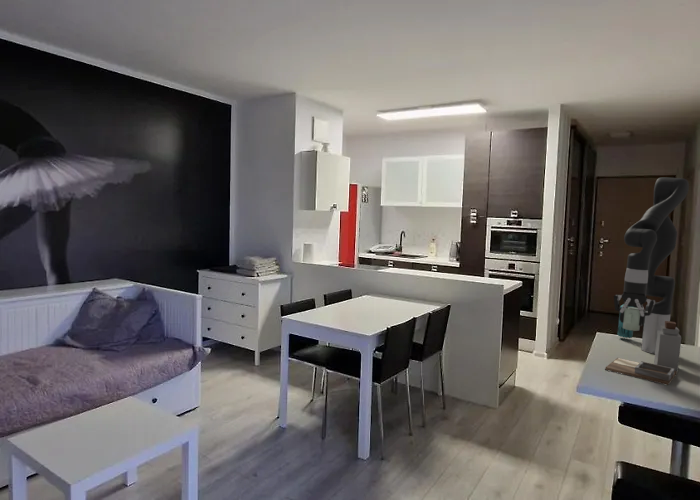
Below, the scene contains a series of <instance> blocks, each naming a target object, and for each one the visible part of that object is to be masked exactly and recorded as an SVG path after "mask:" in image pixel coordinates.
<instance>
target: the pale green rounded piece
mask: <svg viewBox="0 0 700 500" xmlns="http://www.w3.org/2000/svg"><path fill="white" fill-rule="evenodd" d="M640 316H641V314H640V311H639V310H638V308H636V307H635V308H634V307H627V308H625V310H624V320H623V328H624V329H627V330H632V331H633V332H637V331H640V327H641V326H639V321H640Z"/></svg>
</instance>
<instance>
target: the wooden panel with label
mask: <svg viewBox="0 0 700 500" xmlns="http://www.w3.org/2000/svg"><path fill="white" fill-rule="evenodd" d="M605 370H607V371H610V372H615V373H617V372H618V373H619V374H621V373H622V374H621V375H625V374H626V376H629V375H631V376H630V377H633V376H634V378H637V379H643V380H646V381H651V382H654V383H659V384H661V385H662V384H663V385H666V386H669V385H670V383H671V382H672V380H673V379H674V378H675V377H676V375H677V374H678V372H677V371H675V369H674V368H669V367H665V366H660V365H656V364H654V363H651V362H646V361H640V362H637V361H633V360H629V359H625V358H620V357H617V358H615V359H614V360H613V361H611V362H610V363H609V364H608V365H606V366H605ZM618 373H617V374H618Z"/></svg>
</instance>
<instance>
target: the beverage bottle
mask: <svg viewBox="0 0 700 500" xmlns="http://www.w3.org/2000/svg"><path fill="white" fill-rule="evenodd" d="M624 303H625V302H624V300H623V304H622V305H620V308H622V306H623V305H624ZM628 307H630V306H628ZM631 307H633V306H631ZM634 308H636V307H634ZM618 314H619V315H618V316H619V317H618V327H617V336H618V337H622V338H625V339H626V338H627V339H632V338H633V335H634V331H632V330H627V329H624V328H623V323H622V322H621V321H620V313H618Z"/></svg>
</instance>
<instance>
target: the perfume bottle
mask: <svg viewBox="0 0 700 500" xmlns="http://www.w3.org/2000/svg"><path fill="white" fill-rule="evenodd" d="M681 344H682V335H680V329H679V328H678V327H677V323H676V322H675V321H671V320H670V321H665V326H661V331H659V330H658V332H657V341H656V350H655V354H654V360H653V364H656V365H660V366H665V367H669V368H674V369H675V371H677V373H678V371H679V363H680V355H681V353H680V352H681V347H682V346H681Z"/></svg>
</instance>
